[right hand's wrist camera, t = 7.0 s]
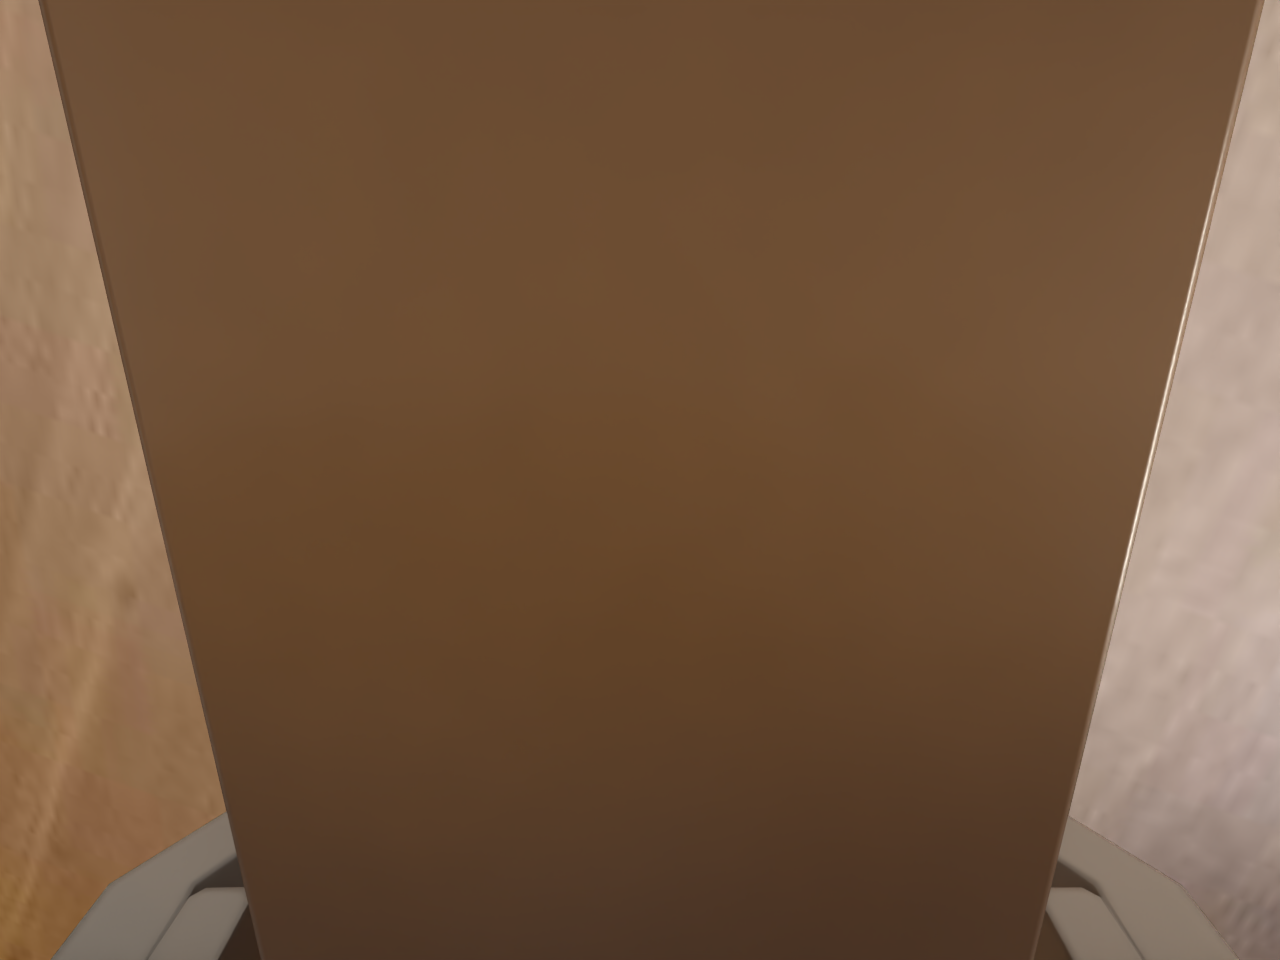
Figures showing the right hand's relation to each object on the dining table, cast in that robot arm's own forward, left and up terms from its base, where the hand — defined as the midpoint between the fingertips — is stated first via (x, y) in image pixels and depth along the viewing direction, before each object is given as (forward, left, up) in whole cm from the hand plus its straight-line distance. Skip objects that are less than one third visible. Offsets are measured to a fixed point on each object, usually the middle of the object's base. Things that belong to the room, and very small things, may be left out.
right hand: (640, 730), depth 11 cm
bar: (+10, 0, -4) cm, 10 cm away
